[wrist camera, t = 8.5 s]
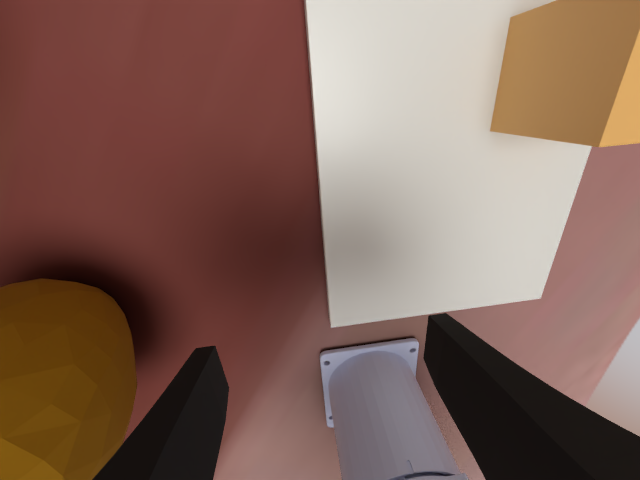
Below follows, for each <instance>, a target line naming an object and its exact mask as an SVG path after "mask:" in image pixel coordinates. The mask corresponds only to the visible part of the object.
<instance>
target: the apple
mask: <svg viewBox="0 0 640 480" xmlns="http://www.w3.org/2000/svg"><path fill="white" fill-rule="evenodd" d="M136 389H137V378H136V367H135V357H134V348H133V342H132V336H131V331H130V328H129V326H128V323H127V320H126V317H125V314H124V313H123V311H122V310H121V308H120V307H119V306H118V304H117V303H116V301H115V300H114V299H113V298H112V297H111V296H109V295H108V294H106V293H105V292H104V291H102V290H101V289H99V288H96V287H93V286H89V285H85V284H82V283H78V282H72V281H63V280H53V279H43V278H41V279H35V280H29V281H24V282H18V283H12V284H9V285H6V286H2V287H0V480H92V479H93V478H94V477H95V476H96V475H97V473H98V472H99V471H100V470H101V469H102V468H103V467H104V465H105V464H106V463H107V462H108V461H109V460H110V459H111V457H112V456H113V455H114V454H115V453H116V451H117V450H118V449H119V448H120V447H121V445H122V444H123V441H124V438H125V435H126V431H127V428H128V425H129V421H130V418H131V414H132V410H133V405H134V400H135V394H136Z"/></svg>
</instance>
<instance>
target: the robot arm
mask: <svg viewBox="0 0 640 480" xmlns="http://www.w3.org/2000/svg"><path fill="white" fill-rule="evenodd" d="M418 349H419V343H418V341H417V340H416V339H415V338H409V339H402V340H396V341H389V342H382V343H375V344H368V345H361V346H354V347H347V348H340V349H334V350H327V351H323V352H321V354H320V364H321V374H322V383H323V393H324V402H325V411H326V421H327V426H328V427H331V428H332V427H334V431H335V437H336V444H337V450H338V457H339V463H340V470H341V476H342V480H469V479H468V477H467V475H466V474H465V473H462V474H461V473H460V471H459V468H458V466H457V464H456V462H455V460H454V458H453V456H452V454H451V452H450V450H449V447H448V445H447V443H446V441H445V439H444V437H443V435H442V433H441V431H440V428H439V426H438V424H437V422H436V420H435V418H434V416H433V414H432V412H431V410H430V407H429V405H428V403H427V401H426V399H425V397H424V395H423V393H422V391H421V389H420V386H419V384H418V382H417V380H416V378H415V376H416V367H417V358H418ZM325 361H327V362H325ZM424 361H425V363H426V366H427V368H428V371H429V373H430V375H431V378H432V380H433V382H434V385H435V387H436V389H437V391H438V393H439V395H440V397H441V398H442V400H443V402H444V404H445V406H446V407H447V409H448V411H449V413H450V415H451V417H452V418H453V420H454V422H455V424H456V425H457V427H458V429H459V431H460V433H461V434H462V436H463V438H464V440H465V442H466V443H467V445H468V447H469V449H470V451H471V452H472V454H473V456H474V458H475V460H476V462H477V463H478V465H479V467H480V469H481V471H482V473H483V475H484V477H485V479H486V480H640V437H639V436H637V435H636V434H633V433H632V432H630V431H628V430H626V429H624V428H622V427H620V426H618V425H617V424H615V423H613V422H611V421H609V420H607V419H606V418H604V417H602V416H600V415H598V414H597V413H595V412H593V411H591V410H590V409H588V408H586V407H585V406H583V405H581V404H579V403H578V402H576V401H574V400H572V399H571V398H569V397H567V396H566V395H564V394H562V393H561V392H559V391H557V390H556V389H554V388H553V387H551V386H549V385H548V384H546V383H545V382H543V381H542V380H540V379H539V378H537V377H535V376H534V375H532V374H531V373H529V372H528V371H526V370H525V369H523V368H522V367H520V366H519V365H517V364H516V363H514V362H513V361H511V360H510V359H509V358H507V357H506V356H504V355H503V354H501V353H500V352H499V351H497V350H496V349H494V348H493V347H492V346H490V345H489V344H487V343H486V342H485V341H483V340H482V339H480V338H479V337H478V336H476V335H475V334H474V333H472V332H471V331H470V330H468V329H467V328H466V327H464V326H463V325H461V324H460V323H459V322H457V321H456V320H455V319H453V318H452V317H450V316H449V315H448V314H446V313H444V314H437V315H430V316H429V317H428V326H427V334H426V342H425V350H424ZM228 392H229V386H228V383H227V380H226V377H225V374H224V371H223V368H222V365H221V362H220V359H219V356H218V353H217V350H216V347H215V346H209V347H202V348H196V349H195V350H194V351H193V353H192V354H191V355H190V357H189V358H188V360H187V361H186V362H185V364H184V365H183V366H182V368H181V369H180V371H179V372H178V373H177V375H176V376H175V377H174V379H173V380H172V382H171V383H170V384H169V386H168V387H167V388H166V390H165V391H164V392H163V394H162V395H161V396H160V398H159V399H158V400H157V402H156V403H155V404H154V405H153V407H152V408H151V409H150V411H149V412H148V413H147V415H146V416H145V417H144V418H143V420H142V421H141V422H140V423H139V425H138V426H137V427H136V428H135V430H134V431H133V432H132V433H131V434H130V436H129V437H128V438H127V439H126V441H125V442H124V443H123V444H122V445H121V447H120V448H119V449H118V450H117V451H116V453H115V454H114V455H113V456H112V457H111V459H110V460H109V461H108V462H107V463H106V464H105V465H104V467H103V468H102V469H101V470H100V471H99V472H98V473H97V475H96V476H95V477H94V478H93V479H92V480H213V477H214V472H215V467H216V463H217V458H218V454H219V449H220V444H221V440H222V435H223V430H224V425H225V420H226V411H227V402H228Z"/></svg>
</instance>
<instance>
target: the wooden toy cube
mask: <svg viewBox="0 0 640 480" xmlns="http://www.w3.org/2000/svg"><path fill="white" fill-rule="evenodd" d="M490 131H492V132H499V133H506V134H512V135H519V136H526V137H533V138H540V139H546V140H553V141H560V142H567V143H574V144H581V145H587V146H594V147H605V146H615V145H625V144H635V143H640V0H556V1H553V2H551V3H548V4H545V5H542V6H540V7H537V8H534V9H532V10H529V11H526V12H523V13H521V14H518V15H515V16H513V17H510V23H509V28H508V34H507V39H506V45H505V50H504V56H503V61H502V67H501V73H500V78H499V84H498V89H497V95H496V100H495V106H494V111H493V117H492V122H491V128H490Z"/></svg>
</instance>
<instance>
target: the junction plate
mask: <svg viewBox="0 0 640 480" xmlns="http://www.w3.org/2000/svg"><path fill="white" fill-rule="evenodd" d="M553 1H556V0H304V9H305V22H306V34H307V47H308V59H309V72H310V85H311V97H312V110H313V123H314V135H315V148H316V161H317V173H318V186H319V199H320V211H321V224H322V236H323V249H324V262H325V274H326V287H327V300H328V312H329V321H330V326H331V328H333V327H340V326H347V325H354V324H362V323H369V322H376V321H383V320H390V319H397V318H404V317H412V316H419V315H426V314H433V313H440V312H447V311H454V310H462V309H469V308H476V307H483V306H490V305H497V304H504V303H512V302H519V301H526V300H533V299H540V298H541V296H542V293H543V290H544V287H545V284H546V281H547V278H548V275H549V272H550V269H551V266H552V263H553V260H554V257H555V254H556V251H557V248H558V245H559V242H560V239H561V236H562V233H563V230H564V227H565V224H566V221H567V218H568V215H569V212H570V209H571V206H572V203H573V200H574V197H575V195H576V192H577V189H578V186H579V183H580V180H581V177H582V174H583V171H584V168H585V165H586V162H587V159H588V156H589V153H590V150H591V147H592V146H587V145H581V144H574V143H567V142H560V141H553V140H546V139H540V138H533V137H526V136H519V135H512V134H506V133H499V132H492V131H490V128H491V122H492V117H493V111H494V106H495V100H496V95H497V89H498V84H499V78H500V73H501V67H502V61H503V56H504V50H505V45H506V39H507V34H508V28H509V23H510V17H513V16H515V15H518V14H521V13H523V12H526V11H529V10H532V9H534V8H537V7H540V6H542V5H545V4H548V3H551V2H553Z"/></svg>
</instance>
